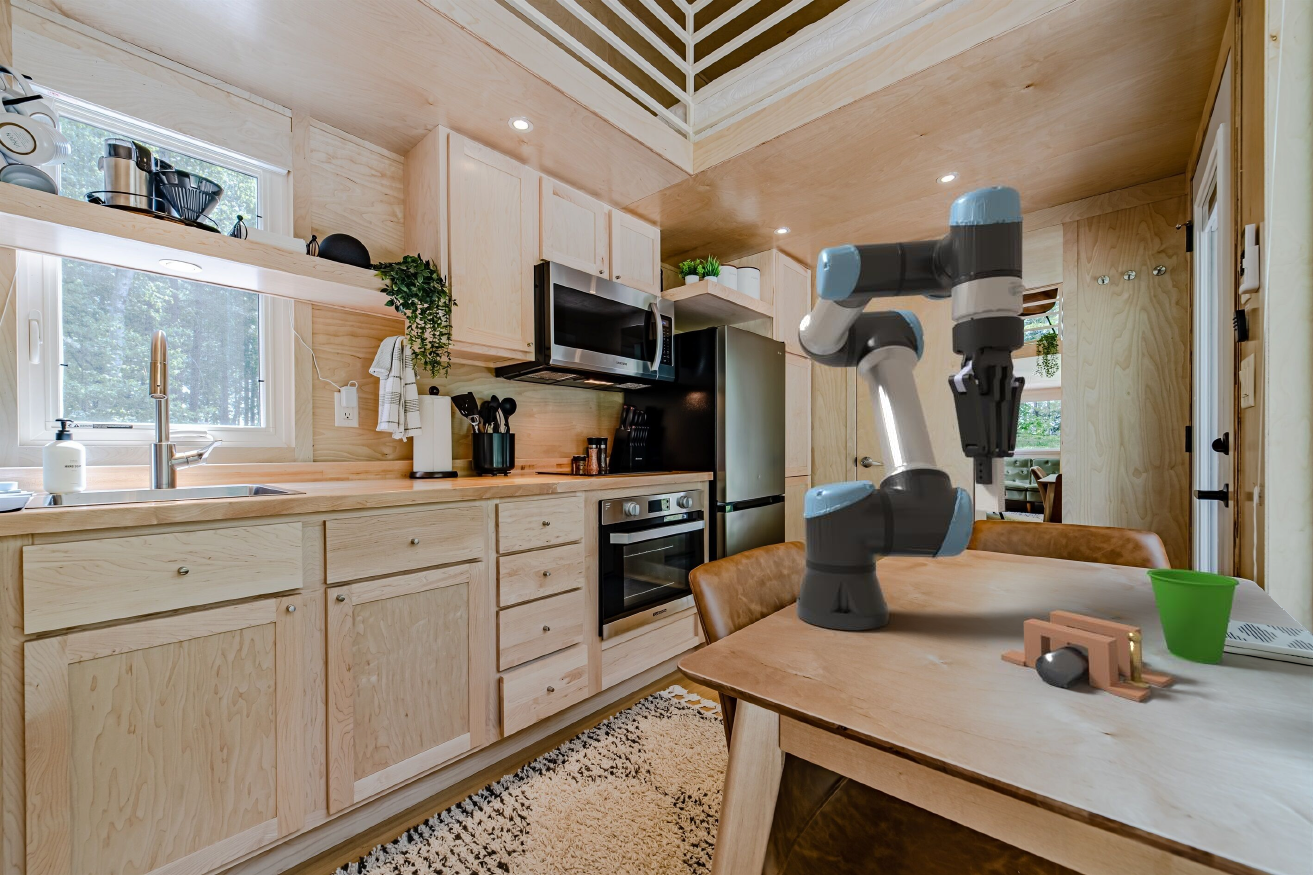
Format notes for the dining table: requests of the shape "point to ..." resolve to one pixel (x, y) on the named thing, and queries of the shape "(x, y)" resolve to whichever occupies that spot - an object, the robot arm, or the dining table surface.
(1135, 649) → the pointer post
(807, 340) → the robot arm
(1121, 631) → the collar
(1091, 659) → the collar
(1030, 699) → the dining table surface
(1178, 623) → the cup
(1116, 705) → the dining table surface
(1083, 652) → the tube
